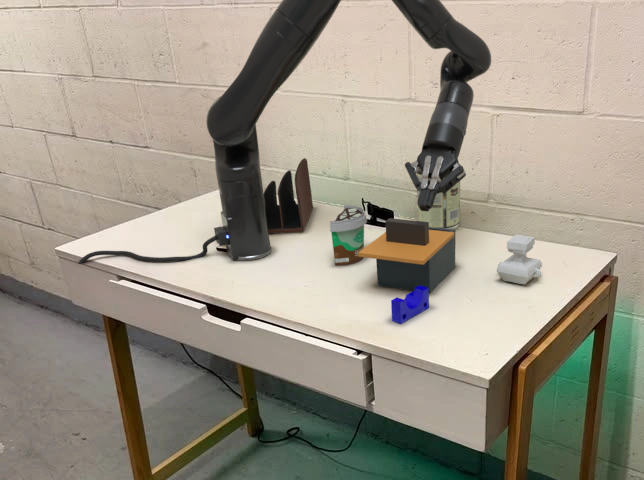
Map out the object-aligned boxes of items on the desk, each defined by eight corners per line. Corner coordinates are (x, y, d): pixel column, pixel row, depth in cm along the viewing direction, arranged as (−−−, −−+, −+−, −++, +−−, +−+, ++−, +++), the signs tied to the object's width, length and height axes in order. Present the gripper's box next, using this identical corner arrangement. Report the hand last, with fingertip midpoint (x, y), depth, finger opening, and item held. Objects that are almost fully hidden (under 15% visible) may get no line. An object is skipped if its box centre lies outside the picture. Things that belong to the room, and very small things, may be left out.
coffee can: (423, 217, 173) (423, 159, 166) (464, 219, 169) (465, 161, 163) (411, 230, 164) (410, 170, 157) (454, 233, 161) (454, 172, 154)
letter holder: (313, 208, 183) (308, 153, 177) (304, 232, 166) (298, 173, 159) (275, 209, 184) (269, 155, 177) (262, 234, 166) (254, 175, 160)
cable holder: (413, 303, 128) (413, 283, 126) (428, 308, 126) (428, 287, 124) (385, 318, 123) (384, 298, 121) (400, 324, 121) (400, 303, 119)
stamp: (490, 282, 135) (491, 240, 131) (504, 270, 140) (506, 230, 136) (533, 290, 131) (536, 248, 127) (547, 278, 135) (550, 237, 131)
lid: (423, 264, 123) (422, 238, 121) (358, 256, 128) (356, 231, 126) (454, 236, 136) (454, 212, 133) (393, 229, 141) (392, 206, 138)
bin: (429, 293, 132) (429, 253, 128) (377, 285, 136) (375, 246, 132) (455, 267, 143) (455, 229, 139) (406, 261, 147) (405, 224, 143)
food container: (362, 269, 144) (359, 222, 139) (333, 268, 145) (329, 222, 140) (374, 248, 154) (372, 204, 150) (347, 247, 156) (344, 203, 151)
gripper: (410, 119, 139) (386, 197, 135) (473, 122, 134) (450, 202, 130) (421, 141, 146) (398, 215, 142) (481, 144, 140) (460, 221, 137)
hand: (423, 209), depth 136 cm, fingers closed
